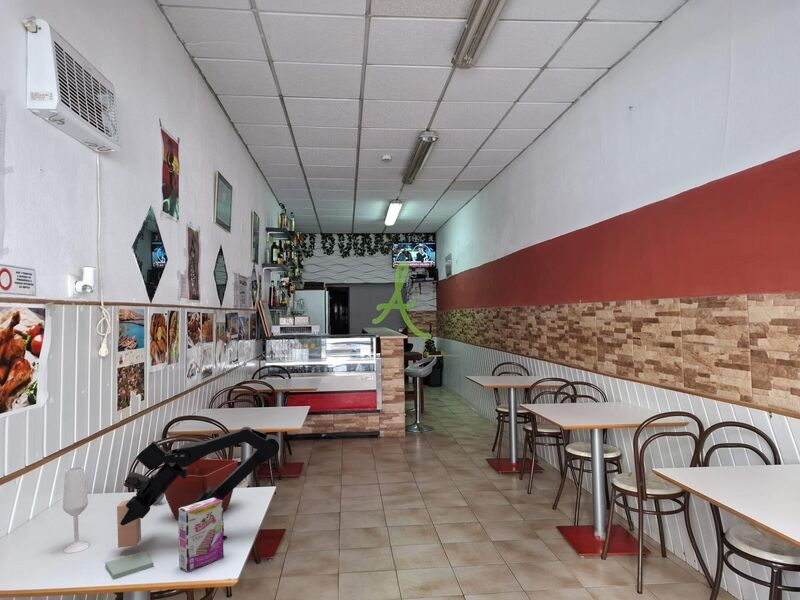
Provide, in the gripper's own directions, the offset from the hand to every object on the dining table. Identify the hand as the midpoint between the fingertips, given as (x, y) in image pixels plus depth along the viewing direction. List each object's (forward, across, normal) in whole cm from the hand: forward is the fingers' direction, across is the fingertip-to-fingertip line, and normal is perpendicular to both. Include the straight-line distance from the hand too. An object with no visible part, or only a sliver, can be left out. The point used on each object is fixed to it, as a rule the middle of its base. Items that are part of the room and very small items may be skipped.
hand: (124, 521), depth 159 cm
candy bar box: (-10, +15, +24) cm, 30 cm away
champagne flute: (+18, -8, -5) cm, 20 cm away
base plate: (+4, +11, +9) cm, 15 cm away
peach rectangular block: (+4, 0, +6) cm, 7 cm away
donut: (+8, -44, +6) cm, 45 cm away
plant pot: (-6, -25, +19) cm, 32 cm away
